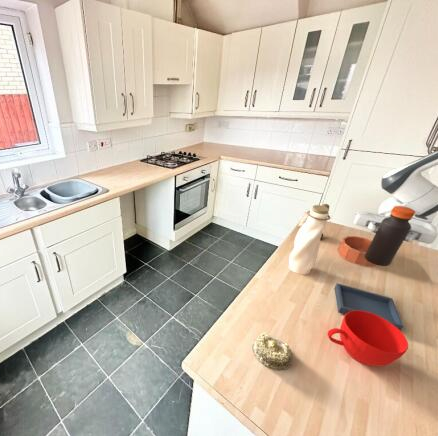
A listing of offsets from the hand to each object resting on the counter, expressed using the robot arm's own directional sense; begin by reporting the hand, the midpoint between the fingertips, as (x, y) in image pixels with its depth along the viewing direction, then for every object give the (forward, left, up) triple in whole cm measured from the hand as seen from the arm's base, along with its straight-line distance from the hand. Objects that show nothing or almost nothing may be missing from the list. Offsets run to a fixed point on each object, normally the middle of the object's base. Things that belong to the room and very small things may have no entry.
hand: (390, 235), depth 78 cm
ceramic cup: (+7, +31, -24) cm, 40 cm away
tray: (+1, +10, -24) cm, 26 cm away
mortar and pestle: (+14, -33, -24) cm, 43 cm away
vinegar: (0, -1, -11) cm, 11 cm away
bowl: (-2, -24, -24) cm, 34 cm away
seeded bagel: (+27, +42, -24) cm, 56 cm away
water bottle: (+21, -3, -24) cm, 32 cm away
